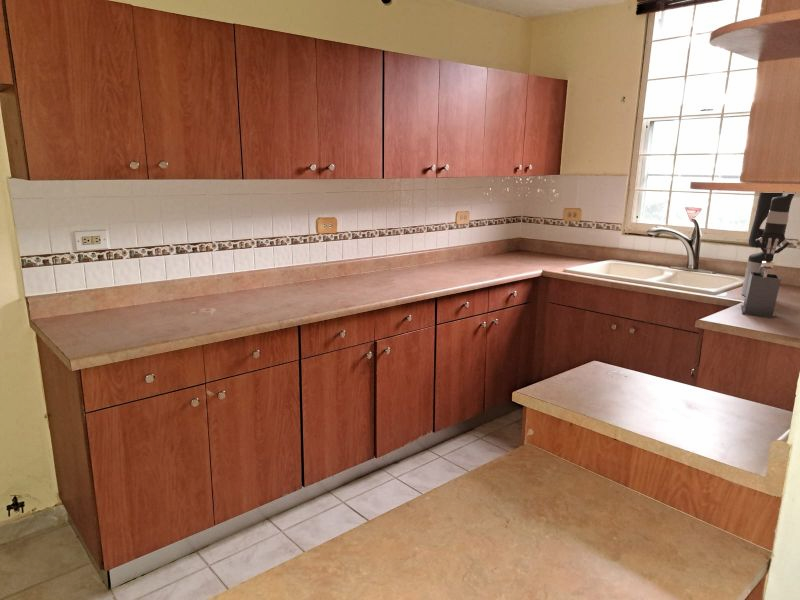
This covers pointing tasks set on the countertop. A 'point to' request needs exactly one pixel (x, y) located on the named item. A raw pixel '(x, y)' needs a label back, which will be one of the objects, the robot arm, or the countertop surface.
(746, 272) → the robot arm
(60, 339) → the countertop surface
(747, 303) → the dark grey upright box
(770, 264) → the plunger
